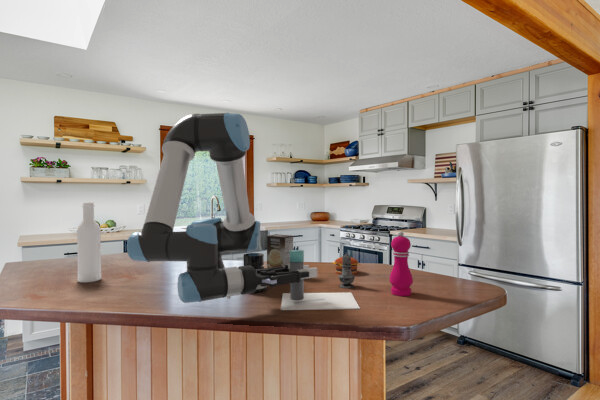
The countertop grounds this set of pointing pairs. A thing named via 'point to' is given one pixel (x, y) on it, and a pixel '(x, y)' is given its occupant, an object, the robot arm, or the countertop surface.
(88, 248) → the bottle
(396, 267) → the pepper mill
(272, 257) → the coffee box
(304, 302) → the paper
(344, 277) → the chess piece
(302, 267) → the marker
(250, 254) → the ink bottle
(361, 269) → the countertop surface
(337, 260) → the hamburger
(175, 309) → the countertop surface
